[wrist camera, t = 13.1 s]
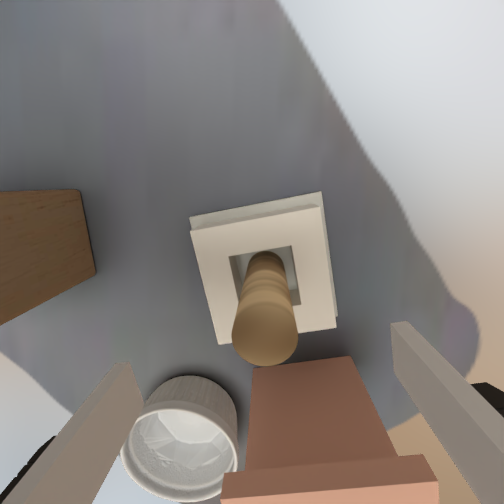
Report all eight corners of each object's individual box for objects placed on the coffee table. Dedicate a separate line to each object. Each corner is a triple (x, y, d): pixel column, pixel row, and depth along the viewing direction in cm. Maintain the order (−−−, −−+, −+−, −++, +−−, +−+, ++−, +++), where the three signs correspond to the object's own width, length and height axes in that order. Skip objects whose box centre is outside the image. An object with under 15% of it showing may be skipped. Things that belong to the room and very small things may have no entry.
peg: (244, 254, 30) (224, 312, 16) (280, 247, 29) (292, 301, 16) (251, 288, 31) (238, 370, 17) (287, 282, 30) (303, 361, 17)
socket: (191, 216, 30) (176, 222, 25) (319, 191, 29) (330, 193, 24) (219, 329, 33) (211, 354, 28) (335, 312, 32) (348, 335, 27)
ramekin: (261, 427, 37) (259, 482, 30) (180, 460, 39) (161, 518, 32) (210, 349, 34) (196, 391, 27) (127, 389, 36) (94, 436, 30)
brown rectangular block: (245, 333, 33) (220, 499, 16) (345, 318, 32) (438, 481, 15) (256, 381, 35) (244, 581, 17) (352, 369, 34) (442, 571, 16)
